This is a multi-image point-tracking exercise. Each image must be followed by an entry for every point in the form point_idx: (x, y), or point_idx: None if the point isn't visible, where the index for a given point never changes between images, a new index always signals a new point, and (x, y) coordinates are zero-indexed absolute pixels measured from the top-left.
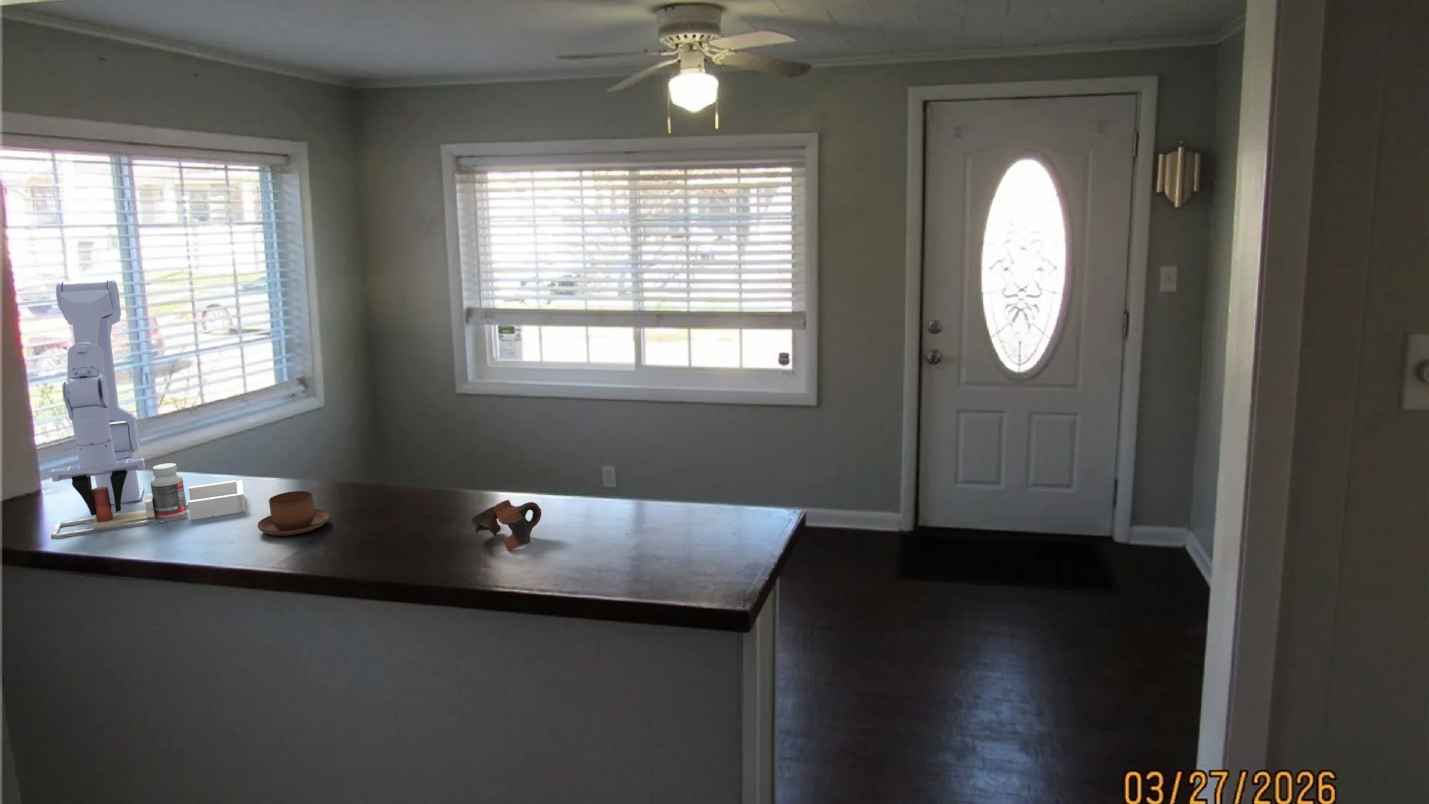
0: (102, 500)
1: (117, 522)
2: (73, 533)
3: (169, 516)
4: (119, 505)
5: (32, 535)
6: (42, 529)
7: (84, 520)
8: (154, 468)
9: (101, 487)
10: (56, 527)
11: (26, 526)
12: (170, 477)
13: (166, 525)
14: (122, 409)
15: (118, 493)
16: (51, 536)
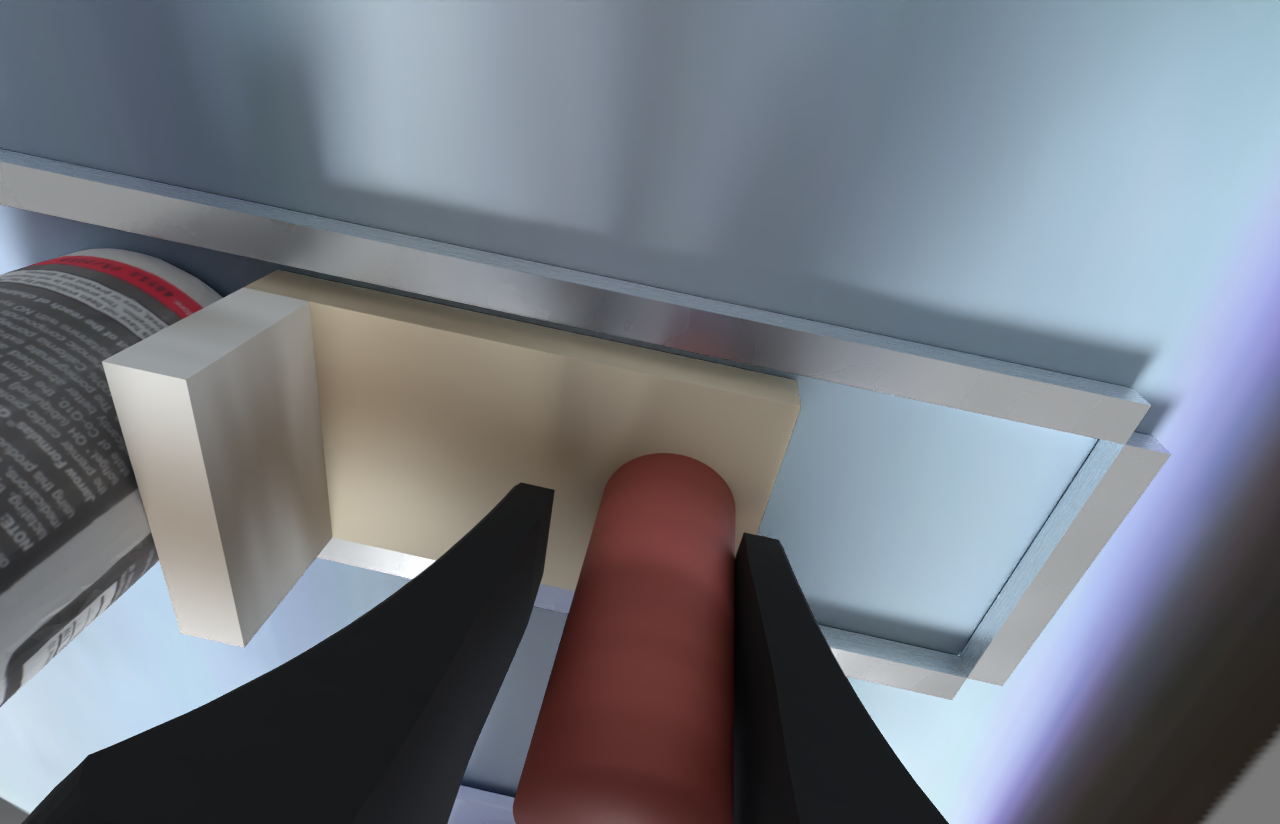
0: (638, 625)
1: (576, 357)
2: (984, 369)
3: (134, 255)
4: (488, 516)
5: (1212, 610)
6: (1082, 686)
7: None
8: None
9: None
10: (1033, 614)
11: (1123, 799)
12: None
13: (135, 31)
14: None
15: (404, 612)
16: (1156, 444)
